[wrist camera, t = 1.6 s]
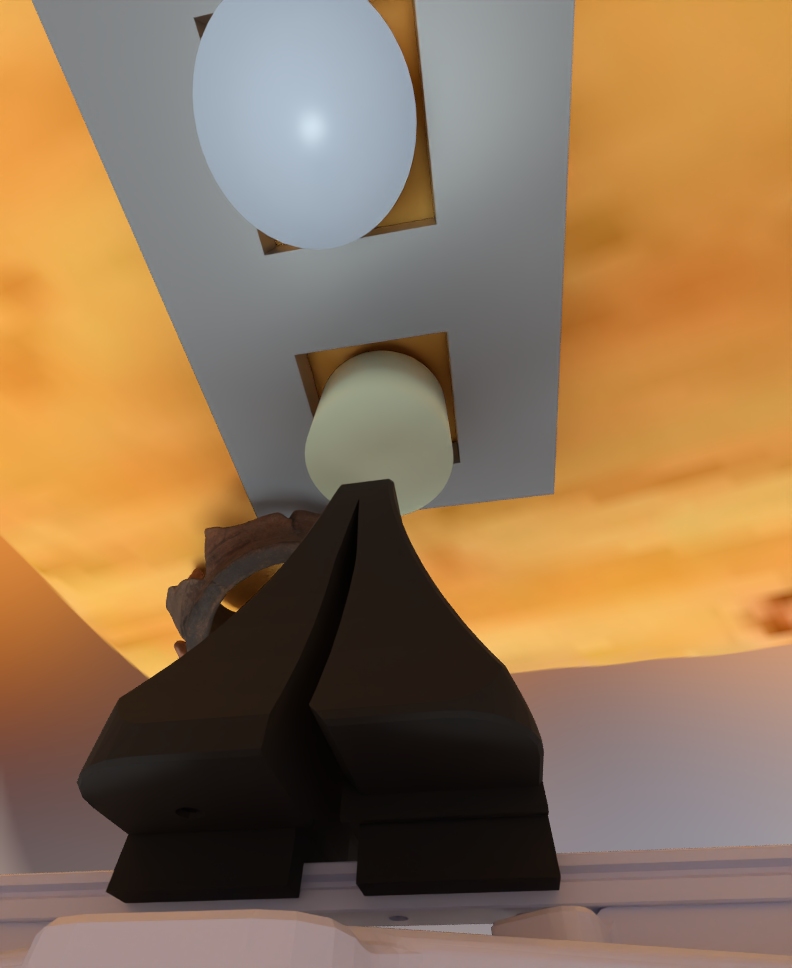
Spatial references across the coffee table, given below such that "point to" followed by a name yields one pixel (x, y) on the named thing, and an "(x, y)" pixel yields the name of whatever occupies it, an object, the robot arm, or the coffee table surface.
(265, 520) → the brown curved piece
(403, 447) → the sage button
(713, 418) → the coffee table surface
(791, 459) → the coffee table surface
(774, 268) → the coffee table surface
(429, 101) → the grey slotted board
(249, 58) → the slate button
